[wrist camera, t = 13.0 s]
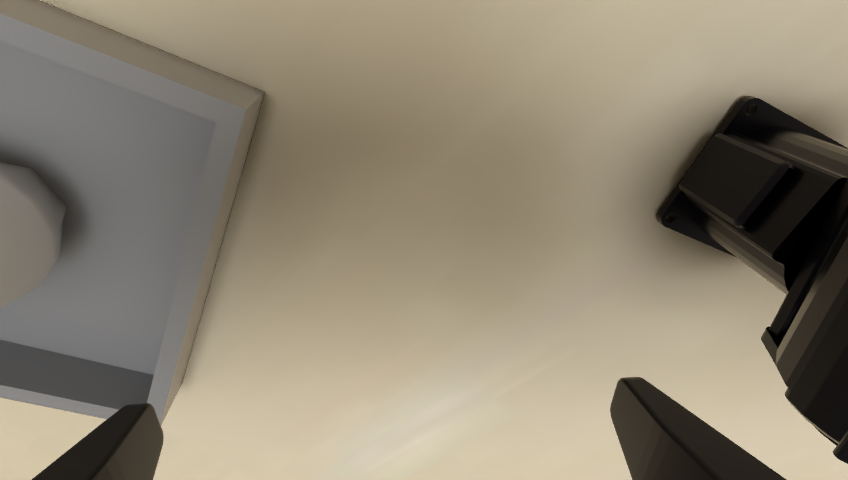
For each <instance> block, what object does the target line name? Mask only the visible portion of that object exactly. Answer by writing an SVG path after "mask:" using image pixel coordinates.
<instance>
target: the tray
mask: <svg viewBox="0 0 848 480" xmlns="http://www.w3.org/2000/svg"><path fill="white" fill-rule="evenodd" d="M264 93H265V92H263V91H260V90H258V89H256V88H253V87H251V86H248V85H246V84H243V83H241V82H238V81H236V80H233V79H231V78H228V77H226V76H224V75H221V74H219V73H216V72H214V71H211V70H209V69H206V68H204V67H201V66H199V65H196V64H194V63H192V62H189V61H187V60H184V59H182V58H179V57H177V56H174V55H172V54H169V53H167V52H164V51H162V50H160V49H157V48H155V47H152V46H150V45H147V44H145V43H142V42H140V41H137V40H135V39H132V38H130V37H128V36H125V35H123V34H120V33H118V32H115V31H113V30H110V29H108V28H105V27H103V26H100V25H98V24H96V23H93V22H91V21H88V20H86V19H83V18H81V17H78V16H76V15H73V14H71V13H68V12H66V11H64V10H61V9H59V8H56V7H54V6H51V5H49V4H46V3H44V2H41V1H39V0H0V162H3V163H8V164H13V165H18V166H23V167H27V168H32V169H34V171H35V172H36V173H37V174H38V175H39V176H40V177H41V178H42V180H43V181H44V182H45V183H46V184H47V185H48V186H49V187H50V189H51V190H52V191H53V192H54V193H55V194H56V195H57V196H58V198H59V199H60V200H61V201H62V202H63V203H64V204H65V205H66V206H67V207H66V211H65V215H64V220H63V224H62V237H61V249H60V256H59V258H58V260H57V261H56V263H55V264H54V266H53V268H52V269H51V271H50V272H49V274H48V275H47V277H46V278H45V280H44V281H43V282H42V283H41V285H40V286H39V287H37V288H35V289H33V290H32V291H30V292H28V293H26V294H25V295H23V296H21V297H19V298H18V299H16V300H14V301H12V302H11V303H9V304H7V305H5V306H4V307H2V308H0V397H1V398H5V399H10V400H15V401H20V402H25V403H30V404H35V405H40V406H45V407H50V408H55V409H60V410H65V411H70V412H75V413H80V414H85V415H90V416H94V417H99V418H104V419H108V418H109V417H111V416H112V415H113V414H114V413H116V412H117V411H118V410H119V409H121V408H122V407H123V406H125V405H127V404H135V403H150V404H151V405H153V407H154V409H155V412H156V414H157V417H158V420H159V423H160V425H161V424H162V422H163V420H164V418H165V416H166V414H167V412H168V410H169V408H170V406H171V404H172V402H173V400H174V398H175V396H176V394H177V392H178V390H179V388H180V386H181V384H182V381H183V378H184V374H185V371H186V367H187V364H188V360H189V357H190V353H191V349H192V346H193V342H194V339H195V335H196V332H197V328H198V325H199V321H200V318H201V314H202V311H203V307H204V304H205V300H206V297H207V293H208V290H209V286H210V283H211V279H212V276H213V272H214V269H215V265H216V262H217V258H218V255H219V251H220V247H221V244H222V240H223V237H224V233H225V230H226V226H227V223H228V219H229V216H230V212H231V209H232V205H233V202H234V198H235V195H236V191H237V188H238V184H239V181H240V177H241V174H242V170H243V167H244V163H245V160H246V156H247V153H248V149H249V145H250V142H251V138H252V135H253V131H254V128H255V124H256V121H257V117H258V114H259V110H260V107H261V103H262V100H263V96H264Z"/></svg>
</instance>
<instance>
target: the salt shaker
mask: <svg viewBox="0 0 848 480" xmlns="http://www.w3.org/2000/svg"><path fill="white" fill-rule="evenodd" d="M66 207H67V206H66V205H65V204H64V203H63V202H62V201H61V200H60V199H59V198H58V196H57V195H56V194H55V193H54V192H53V191H52V190H51V189H50V187H49V186H48V185H47V184H46V183H45V182H44V181H43V180H42V178H41V177H40V176H39V175H38V174H37V173H36V172H35V171H34V169H32V168H27V167H23V166H18V165H13V164H8V163H3V162H0V308H2V307H4V306H5V305H7V304H9V303H11V302H12V301H14V300H16V299H18V298H19V297H21V296H23V295H25V294H26V293H28V292H30V291H32V290H33V289H35V288H37V287H39V286H40V285H41V283H42V282H43V281H44V280H45V278H46V277H47V275H48V274H49V272H50V271H51V269H52V268H53V266H54V264H55V263H56V261H57V260H58V258H59V256H60V249H61V237H62V224H63V220H64V215H65V211H66Z"/></svg>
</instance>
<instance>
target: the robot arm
mask: <svg viewBox="0 0 848 480" xmlns="http://www.w3.org/2000/svg"><path fill="white" fill-rule="evenodd" d="M749 105H751V108H750V110H749V111H748V112H747V113H746V109H747V107H748V106H749ZM670 213H672V215H671V216H670V217H669V218H667V216H668V215H669V214H670ZM666 218H667V219H666ZM657 220H658V221H659V222H660V223H661V224H662V225H664V226H665V227H668V228H670V229H672V230H675V231H677V232H679V233H682V234H684V235H686V236H689V237H691V238H693V239H696V240H698V241H700V242H703V243H705V244H707V245H710V246H712V247H714V248H717V249H719V250H721V251H724V252H726V253H728V254H731V255H733V256H735V257H737V258H739V259H740V260H741V261H743V262H744V263H745V264H747V265H748V266H749V267H751V268H752V269H753V270H755V271H756V272H757V273H759V274H760V275H761V276H763V277H764V278H765V279H767V280H768V281H769V282H771V283H772V284H773V285H775V286H776V287H777V288H779V289H780V290H781V291H783V292H784V293H785V294H787V296H786V298H785V299H784V301H783V303H782V305H781V307H780V309H779V311H778V313H777V315H776V317H775V319H774V321H773V322H772V324H771V326H770V327H767V328H766V330H765V331H764V333H763V335H762V337H761V340H762V342H763V343H764V345H765V347H766V349H767V350H768V352H769V354H770V356H771V357H772V359H773V361H774V363H775V364H776V366H777V368H778V370H779V372H780V374H781V376H782V378H783V380H784V382H785V384H786V385H787V387H788V388H787V390H786V392H785V396H786V398H787V399H788V401H789V402H790V403H791V404H792V405H793V407H794V408H795V409H796V410H797V411H798V412H799V413H800V414H801V415H802V416H803V417H804V418H805V419H806V420H807V421H809V422H810V423H811V424H812V425H813V426H814V427H815V428H816V429H817V430H818V431H819V432H820V433H821V434H823V435H824V436H825V437H826V438H828V439H829V440H830V441H831V442H833V443H834V444H835V445H837V446H836V448H835V449H834V451H833V454H834V455H835V456H836V457H837V458H838V459H839V460H841V461H843V462H845V463H847V464H848V148H847V147H845V146H843V145H841V144H839V143H838V142H836V141H834V140H832V139H830V138H829V137H827V136H825V135H823V134H822V133H820V132H818V131H816V130H814V129H813V128H811V127H809V126H807V125H805V124H804V123H802V122H800V121H798V120H797V119H795V118H793V117H791V116H789V115H788V114H786V113H784V112H782V111H780V110H779V109H777V108H775V107H773V106H772V105H770V104H768V103H766V102H764V101H763V100H761V99H758V98H755V97H751V96H746V97H744V98H742V99H740V100H739V101H738V102H737V103H736V105H735V106H734V108H733V109H732V110H731V112H730V113H729V114H728V116H727V117H726V119H725V120H724V121H723V123H722V124H721V126H720V127H719V128H718V130H717V131H716V132H715V134H714V135H713V137H712V138H711V139H710V141H709V142H708V143H707V145H706V146H705V148H704V149H703V150H702V152H701V153H700V155H699V156H698V157H697V159H696V160H695V161H694V163H693V164H692V166H691V167H690V168H689V170H688V171H687V172H686V174H685V175H684V177H683V178H682V179H681V181H680V182H679V184H678V185H677V186H676V188H675V189H674V190H673V192H672V193H671V195H670V196H669V197H668V199H667V200H666V201H665V203H664V204H663V206H662V207H661V208H660V210H659V211H658V213H657ZM610 412H611V418H612V421H613V424H614V427H615V430H616V433H617V436H618V439H619V442H620V445H621V447H622V450H623V453H624V456H625V459H626V462H627V465H628V468H629V471H630V474H631V477H632V480H786V479H785V478H783V477H782V476H780V475H779V474H778V473H776V472H775V471H773V470H772V469H770V468H769V467H768V466H766V465H765V464H763V463H762V462H761V461H759V460H758V459H756V458H755V457H753V456H752V455H751V454H749V453H748V452H746V451H745V450H744V449H742V448H741V447H739V446H738V445H736V444H735V443H734V442H732V441H731V440H729V439H728V438H727V437H725V436H724V435H722V434H721V433H720V432H718V431H717V430H715V429H714V428H712V427H711V426H710V425H708V424H707V423H705V422H704V421H703V420H701V419H700V418H698V417H697V416H695V415H694V414H693V413H691V412H690V411H688V410H687V409H686V408H684V407H683V406H681V405H680V404H678V403H677V402H676V401H674V400H673V399H671V398H670V397H669V396H667V395H666V394H664V393H663V392H662V391H660V390H659V389H657V388H656V387H654V386H653V385H652V384H650V383H649V382H647V381H646V380H644V379H643V378H640V377H627V378H621V379H620V380H619V381H618V383H617V386H616V389H615V393H614V396H613V400H612V403H611V408H610ZM162 445H163V431H162V428H161V425H160V423H159V420H158V417H157V414H156V412H155V409H154V407H153V405H151V404H150V403H135V404H127V405H125V406H123V407H122V408H121V409H119V410H118V411H117V412H116V413H114V414H113V415H112V416H111V417H109V418H108V419H107V420H106V421H104V422H103V423H102V424H101V425H99V426H98V427H97V428H96V429H94V430H93V431H92V432H91V433H89V434H88V435H87V436H86V437H84V438H83V439H82V440H81V441H79V442H78V443H77V444H76V445H74V446H73V447H72V448H71V449H69V450H68V451H67V452H66V453H64V454H63V455H62V456H61V457H59V458H58V459H57V460H56V461H54V462H53V463H52V464H51V465H49V466H48V467H47V468H46V469H44V470H43V471H42V472H41V473H39V474H38V475H37V476H36V477H34V478H33V479H32V480H153V477H154V474H155V470H156V467H157V463H158V460H159V456H160V453H161V449H162Z"/></svg>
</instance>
